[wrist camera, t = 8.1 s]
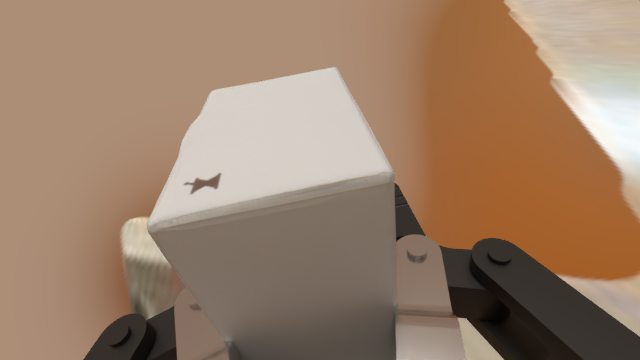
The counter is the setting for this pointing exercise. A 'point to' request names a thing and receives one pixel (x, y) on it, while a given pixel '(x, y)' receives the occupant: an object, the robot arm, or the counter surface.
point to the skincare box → (285, 221)
